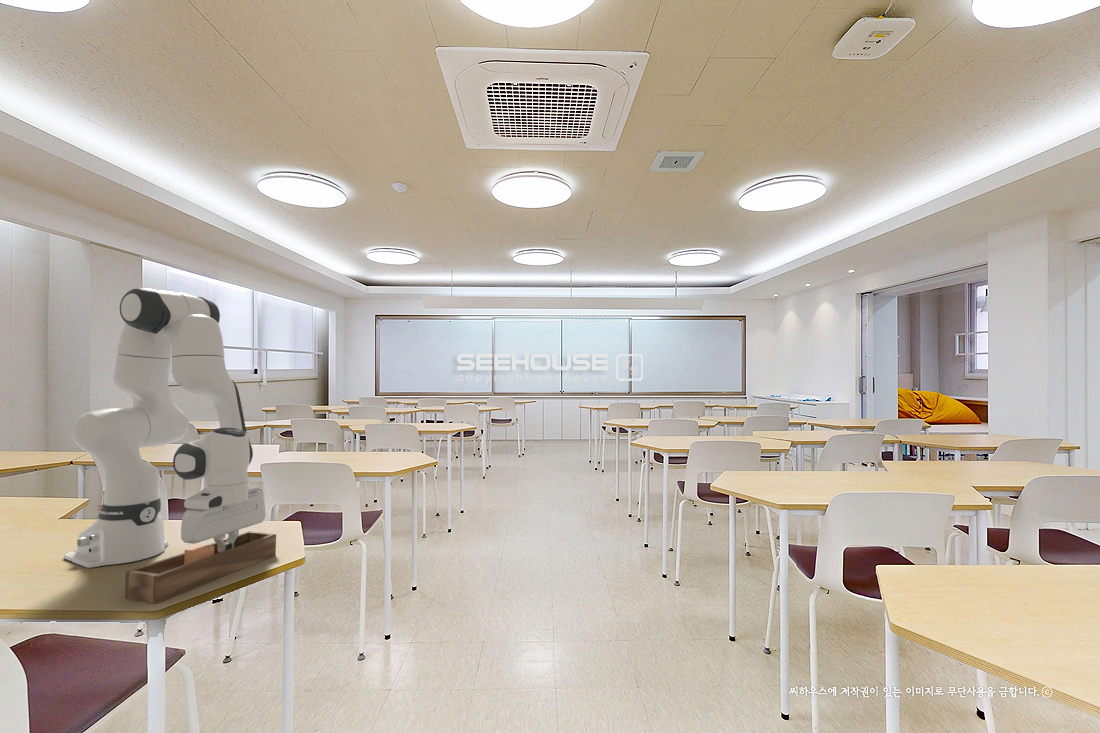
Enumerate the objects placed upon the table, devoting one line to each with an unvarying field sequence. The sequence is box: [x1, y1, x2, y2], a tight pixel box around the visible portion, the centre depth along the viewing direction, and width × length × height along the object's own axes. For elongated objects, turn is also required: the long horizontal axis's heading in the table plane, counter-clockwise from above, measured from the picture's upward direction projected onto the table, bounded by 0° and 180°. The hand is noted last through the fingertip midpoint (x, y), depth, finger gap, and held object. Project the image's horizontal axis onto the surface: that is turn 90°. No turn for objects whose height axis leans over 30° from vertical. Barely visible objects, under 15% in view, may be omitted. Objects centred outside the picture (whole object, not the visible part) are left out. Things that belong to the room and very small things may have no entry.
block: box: [184, 544, 214, 565], centre depth 114 cm, size 4×4×4 cm
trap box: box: [124, 530, 277, 604], centre depth 116 cm, size 9×30×6 cm, turn 164°
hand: (225, 550), depth 120 cm, fingers closed
